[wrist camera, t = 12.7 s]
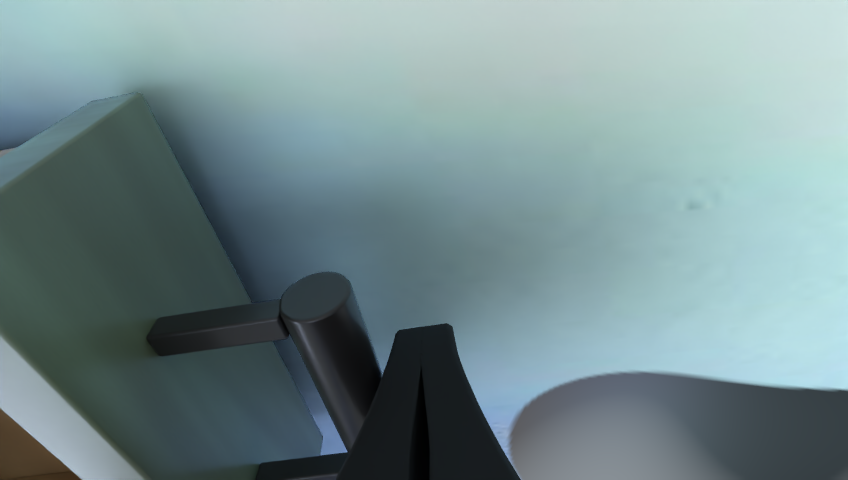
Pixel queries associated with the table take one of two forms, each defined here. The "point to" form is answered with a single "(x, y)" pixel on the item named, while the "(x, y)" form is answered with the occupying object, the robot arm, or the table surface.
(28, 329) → the drawer
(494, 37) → the table surface
